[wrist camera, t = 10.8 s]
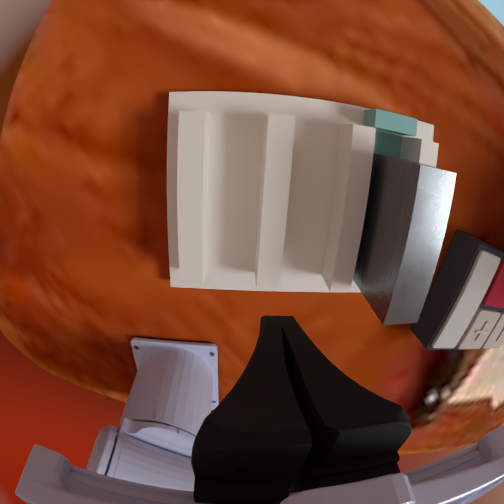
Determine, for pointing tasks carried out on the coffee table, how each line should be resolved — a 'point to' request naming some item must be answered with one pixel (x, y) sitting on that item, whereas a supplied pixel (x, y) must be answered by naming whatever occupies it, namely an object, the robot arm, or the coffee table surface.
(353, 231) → the rack
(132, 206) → the coffee table surface
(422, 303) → the panel
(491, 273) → the calculator
